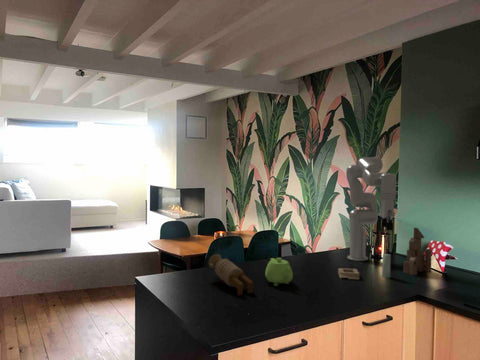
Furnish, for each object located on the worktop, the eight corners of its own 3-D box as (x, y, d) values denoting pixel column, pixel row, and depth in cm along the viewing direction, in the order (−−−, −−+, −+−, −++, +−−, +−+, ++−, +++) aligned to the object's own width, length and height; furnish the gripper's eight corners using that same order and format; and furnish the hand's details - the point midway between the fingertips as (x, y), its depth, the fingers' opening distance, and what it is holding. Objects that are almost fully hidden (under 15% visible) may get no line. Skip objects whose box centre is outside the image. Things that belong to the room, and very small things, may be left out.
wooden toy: (413, 275, 216) (414, 230, 215) (403, 272, 222) (404, 228, 221) (432, 272, 223) (433, 228, 222) (422, 269, 229) (423, 226, 228)
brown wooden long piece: (253, 300, 186) (222, 272, 211) (256, 276, 184) (224, 251, 208) (235, 303, 181) (205, 275, 205) (238, 279, 178) (207, 253, 203)
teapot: (300, 287, 194) (300, 261, 193) (275, 290, 189) (275, 264, 189) (282, 276, 213) (282, 253, 212) (259, 278, 208) (259, 254, 208)
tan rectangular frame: (338, 273, 219) (338, 268, 219) (356, 274, 218) (356, 268, 218) (340, 278, 209) (340, 272, 209) (359, 279, 208) (359, 273, 208)
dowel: (381, 275, 215) (381, 253, 215) (389, 276, 215) (389, 254, 215) (383, 277, 211) (383, 255, 211) (390, 278, 211) (391, 255, 211)
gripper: (376, 195, 220) (376, 225, 221) (384, 197, 203) (383, 231, 204) (391, 195, 220) (390, 226, 220) (399, 198, 202) (398, 231, 203)
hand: (387, 228), depth 212 cm, fingers open, 9 cm apart
